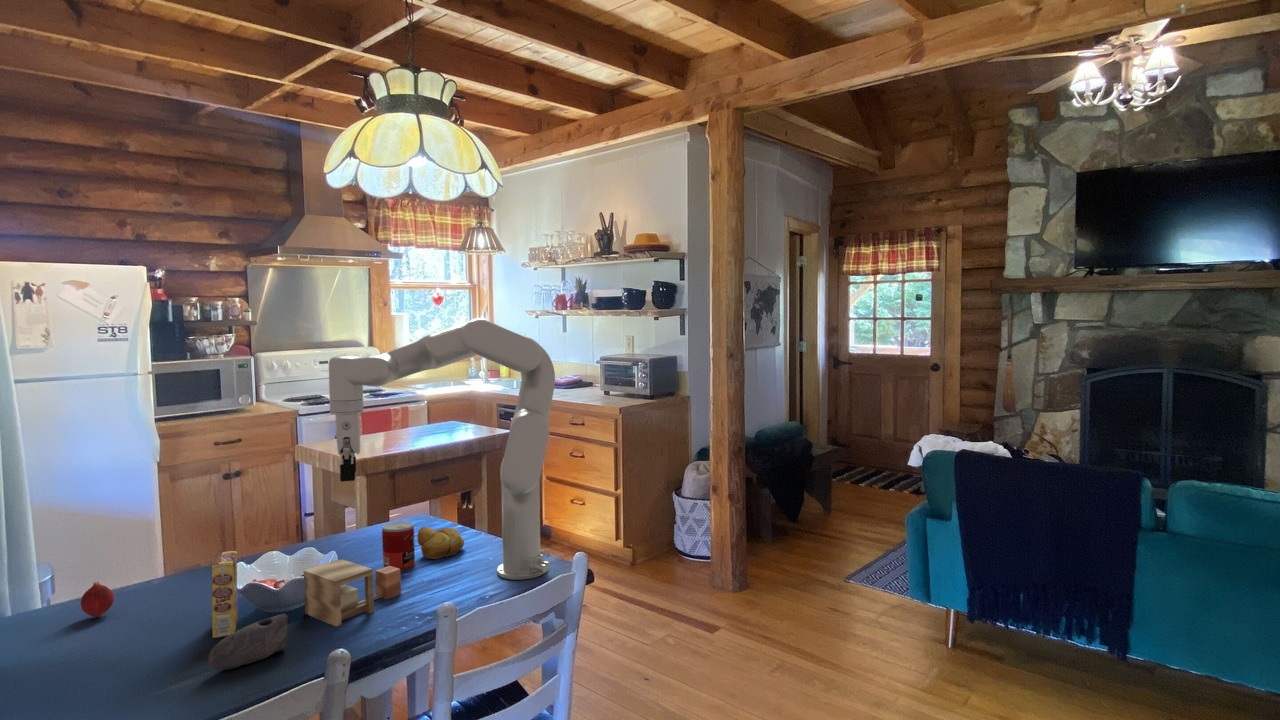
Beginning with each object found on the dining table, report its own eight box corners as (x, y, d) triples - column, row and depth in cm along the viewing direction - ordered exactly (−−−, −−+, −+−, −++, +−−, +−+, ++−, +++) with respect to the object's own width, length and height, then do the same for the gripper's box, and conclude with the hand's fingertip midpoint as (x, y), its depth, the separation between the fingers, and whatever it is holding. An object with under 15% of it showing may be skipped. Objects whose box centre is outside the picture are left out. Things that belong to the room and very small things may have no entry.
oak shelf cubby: (373, 612, 156) (372, 569, 155) (336, 626, 148) (334, 581, 148) (342, 600, 163) (341, 559, 162) (305, 613, 155) (303, 570, 155)
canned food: (409, 571, 181) (408, 529, 181) (378, 571, 181) (377, 529, 181) (419, 561, 189) (418, 521, 188) (389, 561, 189) (388, 521, 188)
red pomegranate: (120, 614, 156) (118, 579, 156) (91, 624, 151) (89, 588, 150) (105, 610, 158) (103, 575, 158) (75, 620, 153) (73, 584, 153)
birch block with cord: (402, 594, 166) (401, 569, 166) (337, 618, 153) (336, 591, 152) (389, 589, 169) (388, 565, 169) (324, 613, 155) (323, 586, 155)
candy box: (236, 635, 145) (233, 562, 144) (212, 639, 143) (209, 565, 142) (239, 618, 153) (236, 549, 152) (216, 622, 151) (213, 552, 150)
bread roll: (457, 545, 203) (456, 517, 202) (473, 553, 195) (472, 525, 195) (414, 555, 194) (413, 526, 194) (429, 564, 187) (428, 534, 186)
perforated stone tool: (214, 680, 126) (212, 643, 126) (203, 671, 130) (201, 635, 129) (298, 650, 138) (297, 615, 138) (286, 642, 141) (285, 608, 141)
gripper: (362, 410, 164) (364, 482, 165) (363, 402, 180) (365, 468, 181) (327, 411, 162) (329, 485, 162) (331, 403, 178) (333, 471, 179)
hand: (348, 476), depth 172 cm, fingers open, 9 cm apart
